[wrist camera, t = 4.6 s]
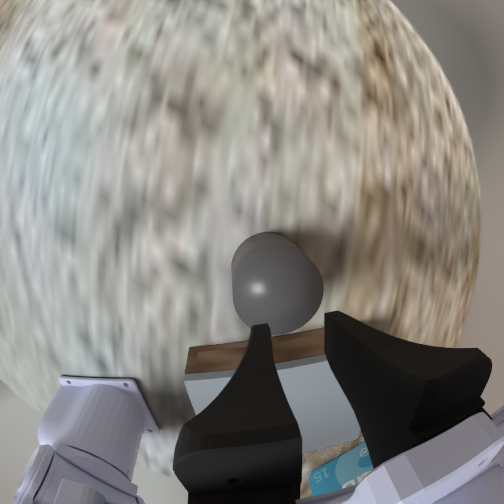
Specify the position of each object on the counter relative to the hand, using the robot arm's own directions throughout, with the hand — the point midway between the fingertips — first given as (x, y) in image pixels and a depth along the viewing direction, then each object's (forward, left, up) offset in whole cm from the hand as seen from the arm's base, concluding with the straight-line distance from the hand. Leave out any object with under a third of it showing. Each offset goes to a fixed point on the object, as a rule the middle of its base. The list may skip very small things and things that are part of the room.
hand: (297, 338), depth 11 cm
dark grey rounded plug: (0, 0, -10) cm, 10 cm away
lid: (0, -12, -6) cm, 13 cm away
